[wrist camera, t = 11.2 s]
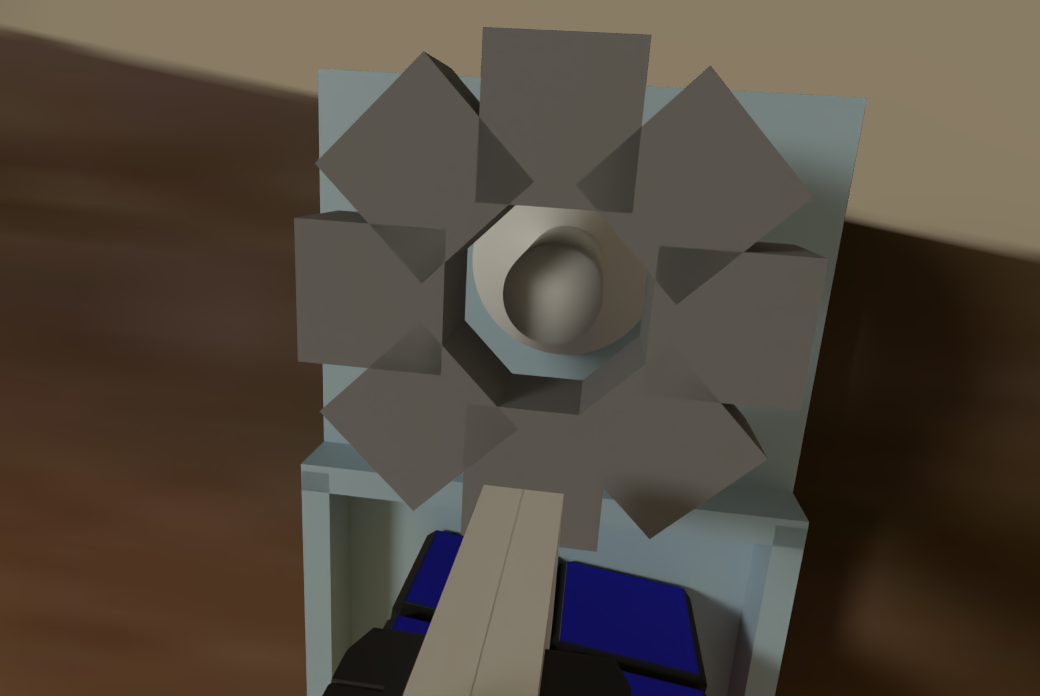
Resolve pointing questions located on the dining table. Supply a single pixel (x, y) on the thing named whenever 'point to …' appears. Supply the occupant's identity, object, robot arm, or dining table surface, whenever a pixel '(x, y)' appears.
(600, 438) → the wheel
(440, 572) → the puzzle cube
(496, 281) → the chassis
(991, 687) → the dining table surface
